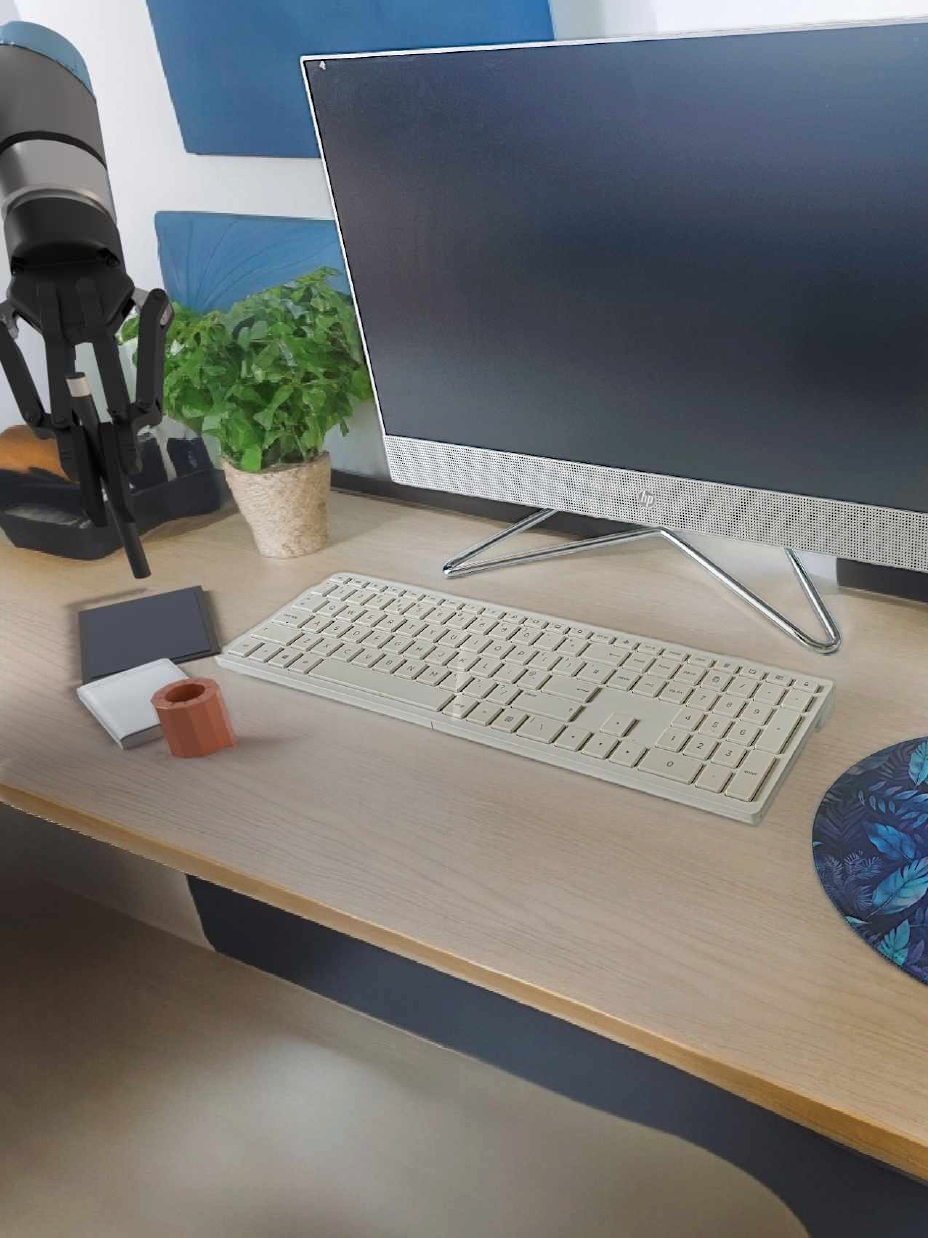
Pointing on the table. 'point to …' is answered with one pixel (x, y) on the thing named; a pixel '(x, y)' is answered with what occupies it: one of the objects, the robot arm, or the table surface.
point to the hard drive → (130, 701)
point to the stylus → (93, 434)
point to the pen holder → (193, 718)
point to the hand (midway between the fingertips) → (110, 516)
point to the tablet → (145, 633)
